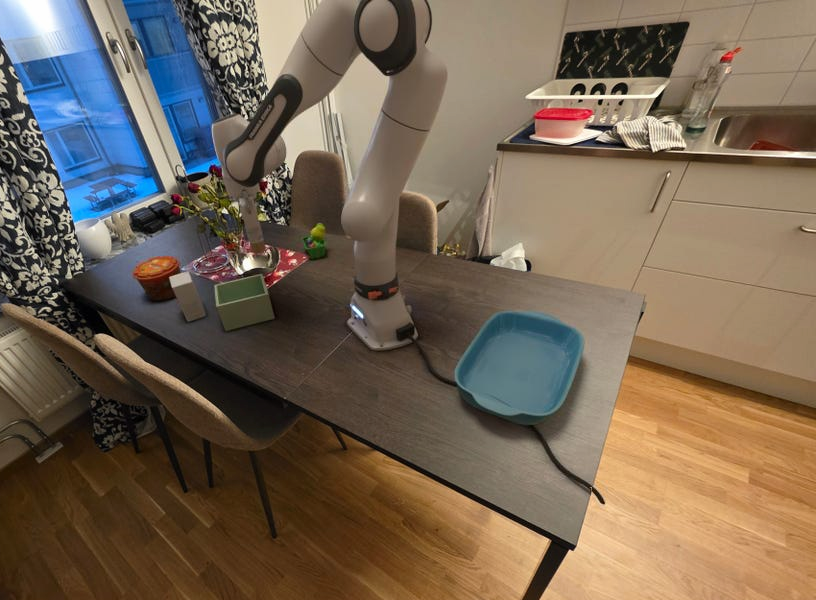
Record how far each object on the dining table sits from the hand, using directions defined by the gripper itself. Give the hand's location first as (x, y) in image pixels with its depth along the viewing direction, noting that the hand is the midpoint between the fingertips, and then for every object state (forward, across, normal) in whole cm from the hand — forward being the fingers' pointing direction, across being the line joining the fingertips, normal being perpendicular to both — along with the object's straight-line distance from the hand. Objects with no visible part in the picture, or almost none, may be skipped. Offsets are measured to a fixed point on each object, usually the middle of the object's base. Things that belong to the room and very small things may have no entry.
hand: (254, 234), depth 113 cm
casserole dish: (+23, -59, -50) cm, 81 cm away
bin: (+23, -4, +8) cm, 25 cm away
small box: (+24, +4, +25) cm, 35 cm away
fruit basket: (+24, +28, -22) cm, 43 cm away
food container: (+24, +24, +36) cm, 49 cm away
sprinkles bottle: (+5, 0, 0) cm, 5 cm away
